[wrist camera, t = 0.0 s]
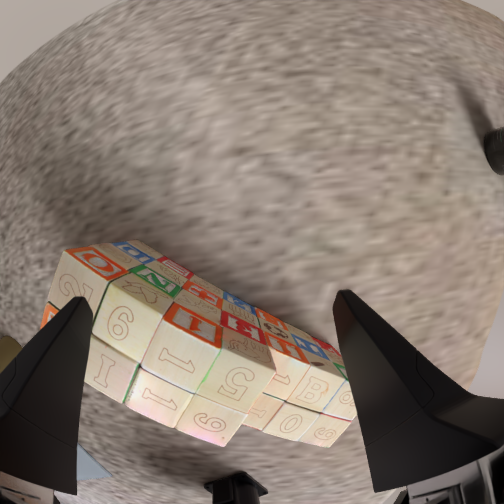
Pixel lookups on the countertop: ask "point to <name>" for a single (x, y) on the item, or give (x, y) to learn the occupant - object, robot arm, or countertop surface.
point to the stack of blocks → (199, 350)
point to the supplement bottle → (495, 149)
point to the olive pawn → (8, 351)
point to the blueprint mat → (89, 466)
